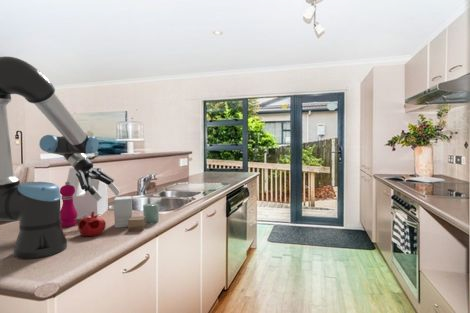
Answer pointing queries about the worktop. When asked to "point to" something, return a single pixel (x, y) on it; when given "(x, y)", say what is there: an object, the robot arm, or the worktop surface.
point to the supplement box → (122, 211)
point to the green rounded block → (151, 212)
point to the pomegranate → (91, 225)
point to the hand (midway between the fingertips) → (109, 196)
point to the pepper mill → (68, 206)
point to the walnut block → (137, 223)
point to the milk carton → (88, 196)
